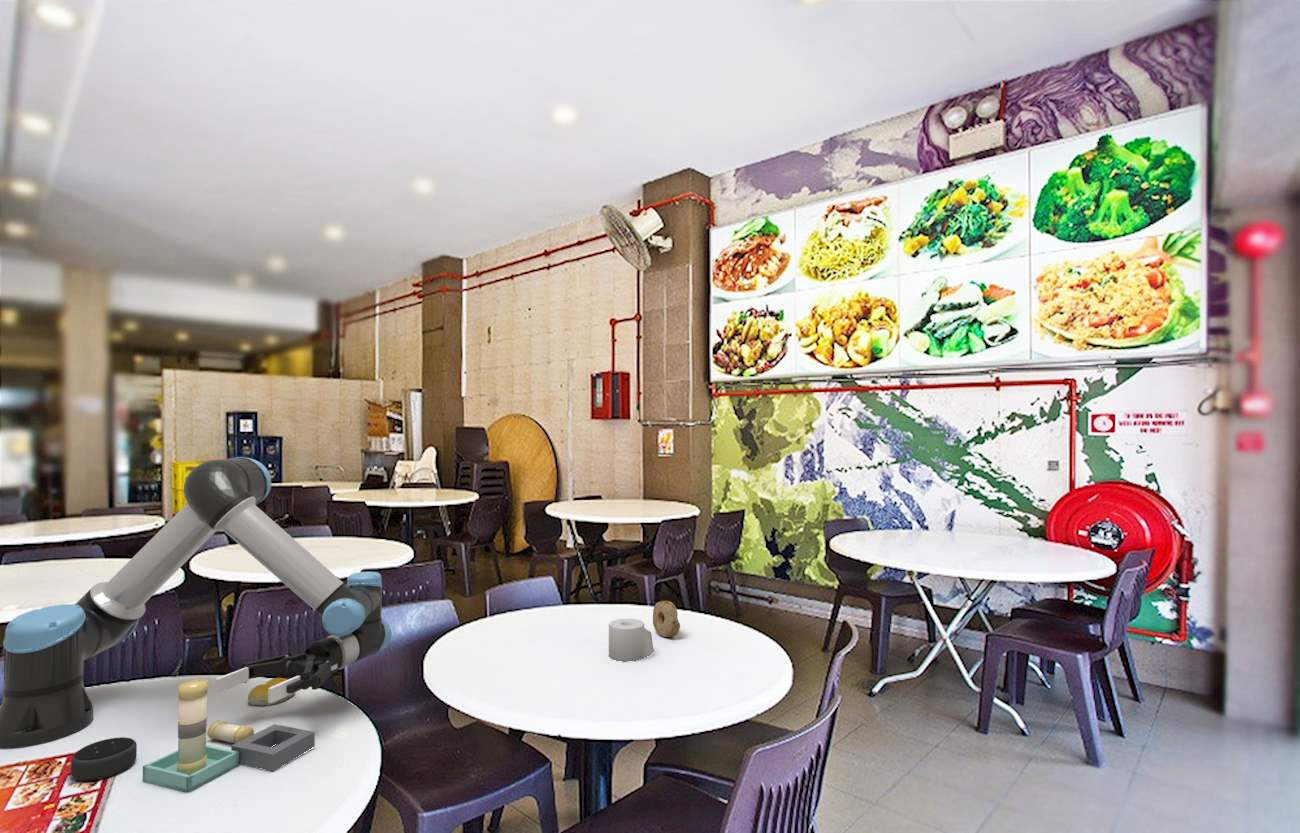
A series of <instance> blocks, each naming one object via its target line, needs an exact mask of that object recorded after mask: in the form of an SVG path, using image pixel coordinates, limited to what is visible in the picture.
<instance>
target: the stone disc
mask: <svg viewBox="0 0 1300 833" xmlns="http://www.w3.org/2000/svg"><path fill="white" fill-rule="evenodd" d="M678 617H679V616H678V610H677V607H676V606H675V604H674V603H673V602H671V601H670V600H660V601H658V602H656V603H655V605H654V607H653V613H652V624H653V625H652V626H653V629H654V630H655V632H656V633H657V635H659V636H660V637H663V638H669V637H671V638H672V637H675V636H676V635H677V634H678V633H679V631H680V629H681V624H680V622H679V619H678Z"/></svg>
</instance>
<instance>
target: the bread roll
mask: <svg viewBox="0 0 1300 833" xmlns="http://www.w3.org/2000/svg"><path fill="white" fill-rule="evenodd" d="M286 680H289V679H288V678H284V677H275V678H272V679H269V680H267V681H266V683H263V684H259V685H256V686H255V687H254V688H252V689H251V690H250V691H249V693H248V697H247V699H248V702H249V703H250V705H251V704H252V705H251V706H254V705H266V706H269V705H268V704H272V705H276V704H275V703H277V704H279V702H280V703H282V702H285V701H286V700H288V698H289V699H290V698H292V697H293V696H294V695H295V693H296V692H295V693H293V694H291V695H288V696H286V697H284V698H282V699H280V700H277V701H275V702H273V703H268V688H270V687H272V686H275V685H277V684H279V683H282V682H284V681H286Z"/></svg>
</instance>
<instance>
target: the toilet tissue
mask: <svg viewBox="0 0 1300 833" xmlns="http://www.w3.org/2000/svg"><path fill="white" fill-rule="evenodd" d="M653 652H654V653H655V651H654V643H653V637H652V631H649V630H648V629H647V628H645V622H643V621H642V620H640V619H636V618H635V619H634V618H618V619H614V620H611V621H610V622H609V623H608V658H609V657H610V658H609V659H611V660H612V659H613V660H616V661H615V662H618V661H622V662H621V663H628V662H627V661H635V662H637V661H636V660H638V661H640V660H639V659H641V658H644V657H647V656H650V655H651V654H652V653H653ZM652 655H653V654H652ZM652 655H651V656H652ZM651 656H650V657H651ZM647 658H648V657H647ZM644 659H645V658H644ZM613 660H612V661H613ZM641 660H642V659H641Z"/></svg>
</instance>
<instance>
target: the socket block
mask: <svg viewBox="0 0 1300 833" xmlns="http://www.w3.org/2000/svg"><path fill="white" fill-rule="evenodd" d="M315 735H316V732H315V731H314V730H313V731H312V730H307V729H301V728H296V727H292V726H287V725H281V724H276V723H273V724H272V725H270V726H268V727H266V728H263V729H261V730H260V731H258V732H256V733H254V735H252V736H250V737H248V738H246V739H244V740H241V741H239V742H237V743H232V745H231V746H230V747H231V748H230V750H233V751H237V752H239V765H242V766H245V765H246V767H250V766H253V767H252V768H254V767H257V768H256V769H258V768H262V769H261V770H263V769H266V770H265V771H267V770H270V771H269V772H272V771H274V770H275V771H277V770H279V769H280V767H281V766H282V765H284V764H286V763H287V764H289V763H290V762H289V761H291V760H293V759H294V758H296V757H298V756H299V755H301V754H303V753H304V752H306V751H308V750H309V749H311V748H312V747H314V746H316V745H315V743H316V742H315V740H316V739H315V738H316V737H315ZM275 744H276V746H274V747H272V746H273V745H275ZM271 747H272V748H271ZM308 752H309V751H308ZM303 755H304V754H303ZM301 756H302V755H301ZM298 758H299V757H298ZM296 759H297V758H296ZM294 760H295V759H294ZM294 760H293V761H294ZM288 762H289V763H288ZM291 762H292V761H291ZM287 764H286V765H287ZM284 766H285V765H284ZM282 767H283V766H282ZM282 767H281V768H282ZM278 768H279V769H278ZM276 769H277V770H276ZM275 771H274V772H275Z"/></svg>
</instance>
